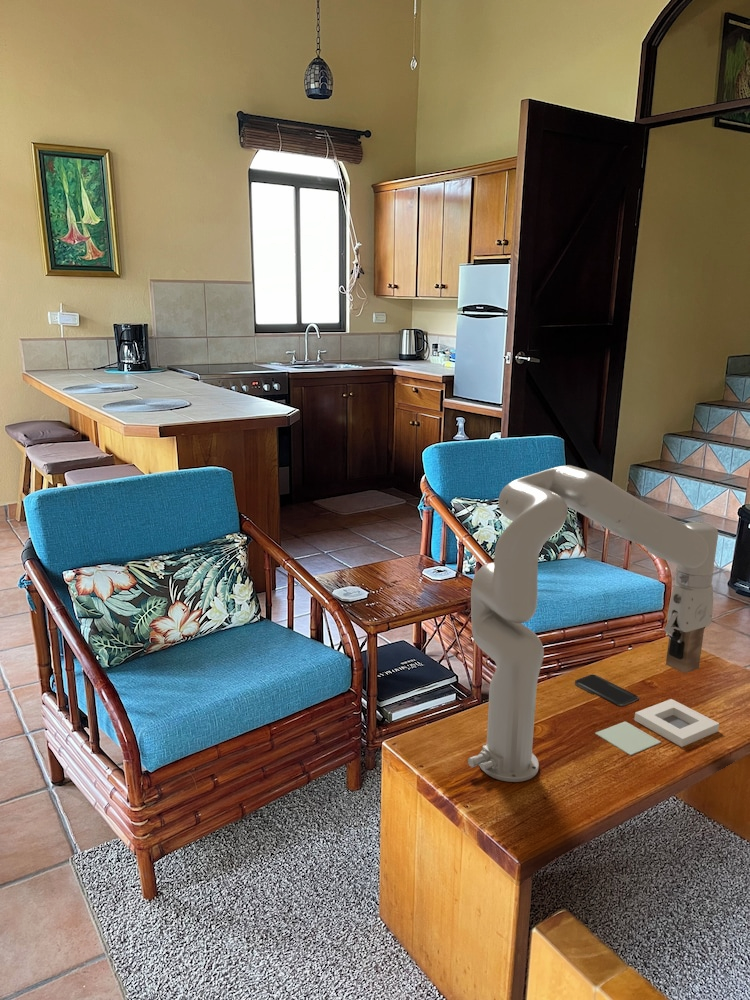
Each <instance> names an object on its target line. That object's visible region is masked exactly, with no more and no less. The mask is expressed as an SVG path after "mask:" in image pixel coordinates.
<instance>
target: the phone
mask: <svg viewBox="0 0 750 1000" xmlns="http://www.w3.org/2000/svg"><path fill="white" fill-rule="evenodd" d="M574 685H575V686H576V687H578V688H580V689H582V690H583V691H586V692H588V693H590V694H591V695H593V696H594V695H596V696H598V697H600V698H601V699H604V700H605V701H608V702H609V703H611V704H613V705H615V706H617V707H625V706H627V705H630V704H631V703H634V702H637V701H638V700H639V699H640V698H639V696H638V695H636V694H635V693H632V692H631V691H629V690H626V689H624V688H623V687H621V686H618V685H617V684H614V683H613V682H610V681H608V680H607V679H604V678H602V677H601V676H599V675H597V674H588V675H586V676H583V677H581V678H579V679H576V680H574Z"/></svg>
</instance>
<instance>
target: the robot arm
mask: <svg viewBox="0 0 750 1000" xmlns="http://www.w3.org/2000/svg"><path fill="white" fill-rule="evenodd" d="M498 506H499V507H498V508H499V509H500V512H501V513H502V515H503V516H504V517H505V518H507V519H508V520H510V521H511V522H510V524H509V525H508V526H507V527H506V528H505V529H504V530H503V531H502V533H501V534H500V536H499V537H498V540H497V541H496V544H495V549H494V558H493V562H488V563H485V564H484V565H482V566H481V567H480V568H479V569H478V570H477V571H476V573H475V574H474V576H473V580H472V582H471V587H470V609H471V610H470V611H471V613H470V615H471V616H470V617H471V618H470V619H471V633H472V638H473V641H474V642H475V644H476V646H477V647H479V649H480V650H481V652H483V653H485V654H486V656H488V657H489V658H490V659H491V660H493V661H494V663H495V665H496V668H495V672H494V673H493V675H492V678H491V680H490V683H489V689H488V691H489V692H488V715H487V727H486V728H487V729H486V731H487V732H486V744H484V745H482V750H481V751H480V752H479V754H478V755H477V754H476V755H473V756H470V757H468V758H467V763H468V765H469V767H470V768H474V767H477V766H479V767H480V769H481V770H482V771H483V772H484V773H485V774H486V775H488V776H490V777H491V778H493V779H496V780H498V781H503V782H510V783H512V782H513V783H519V782H524V781H528V780H530V779H532V778H534V777H535V776H536V775H537V774H538V772H539V767H540V765H539V764H540V763H539V760H538V758H537V756H536V755H535V754H534V753H533V743H534V742H533V741H534V729H535V728H534V727H535V714H536V700H537V691H538V690H537V687H538V681H539V676H540V671H541V669H542V666H543V661H544V655H545V649H544V645H543V643H542V640H541V639H540V638H539V637H538V635H537V634H536V633H535V632H534V631H533V630H531V629H530V628H529V627H527V626H526V625H525V624H524V623H526V622H529V621H530V620H531V619H532V618H533V617H534V615H535V614H536V612H537V607H538V575H539V574H538V567H539V566H538V565H539V557H540V552H541V550H542V548H543V546H544V545H545V543H547V541H548V540H549V539H550V538H551V537H552V536H553V535H555V534H556V533H557V532H558V531H559V530H560V529H561V528H562V527H563V526H564V524H565V522H566V520H567V516H568V509H571V510H574V511H576V512H577V513H580V514H581V515H583V516H584V517H586V518H588V519H590V520H592V521H593V522H595V523H596V524H598V525H600V526H602V527H603V528H605V529H606V530H609V531H610V532H612V533H613V534H615V535H617V536H619V537H621V538H623V539H625V540H628V541H630V542H632V543H635V544H638V545H640V546H644V548H645V550H646V551H648V553H650V554H651V555H653V556H655V557H657V558H660V559H661V560H665V561H667V562H670V563H672V564H674V565H676V569H675V576H674V585H673V588H672V592H671V595H670V598H669V599H670V600H669V603H668V604H669V605H668V609H667V610H668V611H667V622H666V624H665V626H664V629H663V631H664V632H665V633H666V634H667V636H668V640H669V639H671V641H670V649H669V655H671V656H673V657H675V658H678V659H682V658H683V651H684V643H683V639H684V636H685V632H690V631H694V630H697V629H700V628H703V627H704V630H705V628H706V627H708V626H710V625H711V623H712V619H713V608H714V587H713V575H714V568H715V561H716V560H715V559H716V554H717V553H716V552H717V547H718V538H719V531H718V528H717V527H716V526H714V525H712V524H709V523H705V522H697V521H695V522H694V521H693V522H686V523H682V522H680V521H678V519H675V518H673V517H671V516H669V515H668V514H665V512H662V511H661V510H658V509H656V507H653V506H652V505H650V504H648V503H646V502H644V501H643V500H640V499H639V498H637V497H636V496H634V495H632V494H631V493H629V492H628V491H626V490H624V489H623V488H621V487H619V486H618V484H617V485H616V484H615V483H614V482H613V481H612V482H611V481H610V480H609V479H607V478H606V477H604V476H602V475H600V474H598V473H596V472H594V471H591V470H589V469H585V468H581V467H578V466H574V465H571V464H567V465H566V464H565V465H559V466H555V467H551V468H548V469H545V470H542V471H538V472H535V473H532V474H528V475H526V476H523V477H519V478H517V479H514V480H512V481H510V482H509V483H507V484H506V485H505V486H504V487H503V488H502V490H501V491H500V493H499V497H498ZM677 625H678V626H679V627H678V626H677ZM676 630H679V631H680V634H679V635H678V634H677V633H676Z"/></svg>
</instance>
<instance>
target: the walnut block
mask: <svg viewBox="0 0 750 1000" xmlns="http://www.w3.org/2000/svg"><path fill="white" fill-rule="evenodd" d="M677 626H678V625H677ZM678 627H679V626H678ZM704 632H705V629H704V627H703V628H700V629H697V630H694V631H690V632H685V636H684V639H683V643H684V651H683V658H682V659H678V658H675V657H673V656H671V655H669V649H670V641H671V639H669V638H668V643H667V651H666V661H665V665H666V666H667V667H670V668H672V669H674V670H677V671H678V672H680V673H682V674H688V673H690V672H693V671H696V670H698V669H700V662H701V655H702V646H703V641H704ZM676 633H677V634H678V635H679V634H680V631H679V630H676Z"/></svg>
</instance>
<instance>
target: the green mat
mask: <svg viewBox="0 0 750 1000" xmlns="http://www.w3.org/2000/svg"><path fill="white" fill-rule="evenodd" d="M594 733H595V735H596V736H598V737H600V738H601V739H603V740H605V741H606V742H608V743H609V744H611V745H612V746H614V747H616V748H617V749H619V750H621V751H623V752H624V753H625V754H627V755H629V756H633V755H636V754H637V753H640V752H642V751H644V750H647V749H649V748H652V747H655V746H657V745H659V744H661V743H662V741H661V740H659V739H657V738H656V737H653V736H652V735H651V734H648V733H646V732H645V731H643V730H641V729H640V728H639V727H636V726H635V725H633V724H631V723H630V722H627V721H625V720H624V721H623V722H619V723H617V724H615V725H611V726H609V727H607V728H604V729H601V730H599V731H596V732H594Z"/></svg>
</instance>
